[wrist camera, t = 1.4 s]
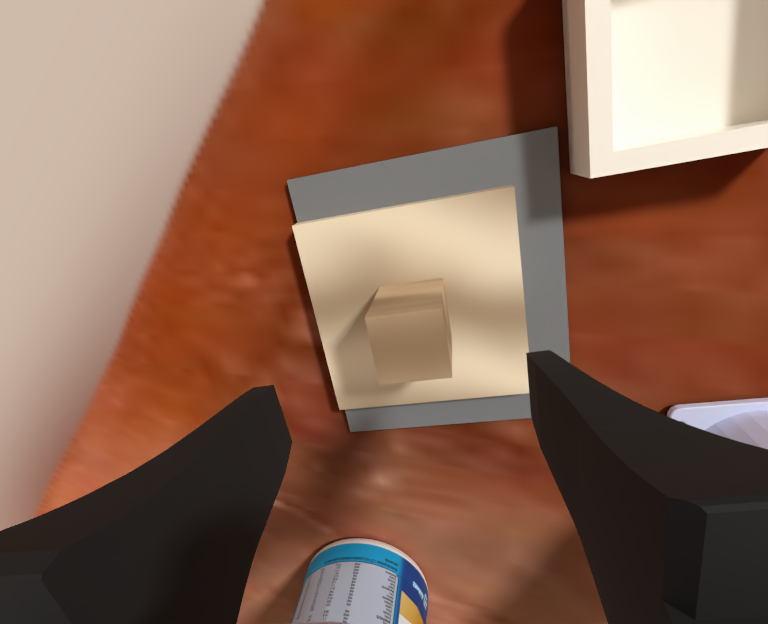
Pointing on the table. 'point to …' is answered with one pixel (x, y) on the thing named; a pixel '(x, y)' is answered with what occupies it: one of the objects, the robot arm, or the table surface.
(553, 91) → the table surface
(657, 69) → the white square tray
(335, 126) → the table surface
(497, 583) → the table surface
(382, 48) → the table surface
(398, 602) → the beverage bottle
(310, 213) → the mat
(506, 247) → the lid
